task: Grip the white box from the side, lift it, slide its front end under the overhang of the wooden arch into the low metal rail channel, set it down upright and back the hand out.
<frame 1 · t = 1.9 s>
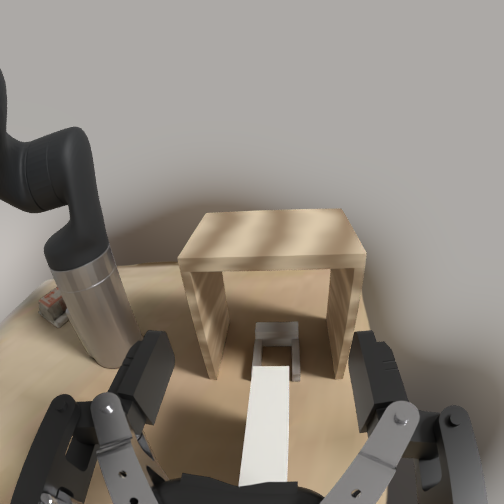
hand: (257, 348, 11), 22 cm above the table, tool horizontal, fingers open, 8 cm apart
wooden arch: (277, 348, 39), on the table
packaged product: (77, 301, 53), on the table
white box: (270, 472, 23), on the table
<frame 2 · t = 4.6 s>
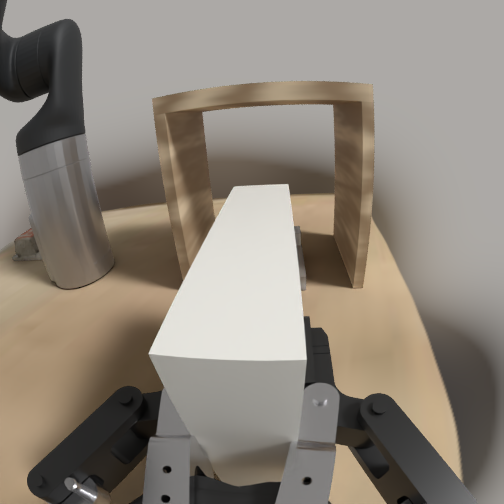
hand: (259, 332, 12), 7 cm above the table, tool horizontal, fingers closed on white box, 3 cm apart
wooden arch: (274, 260, 32), on the table
packaged product: (54, 241, 47), on the table
white box: (266, 409, 16), on the table, touching gripper
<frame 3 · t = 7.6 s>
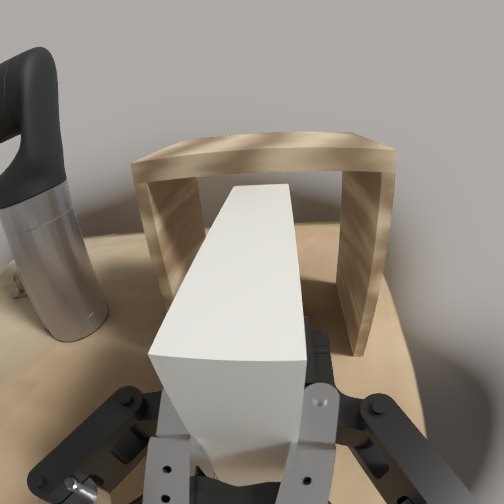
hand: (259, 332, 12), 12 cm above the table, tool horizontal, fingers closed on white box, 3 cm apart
wooden arch: (273, 317, 30), on the table
packaged product: (47, 272, 45), on the table
white box: (266, 409, 16), point 5 cm above the table, touching gripper
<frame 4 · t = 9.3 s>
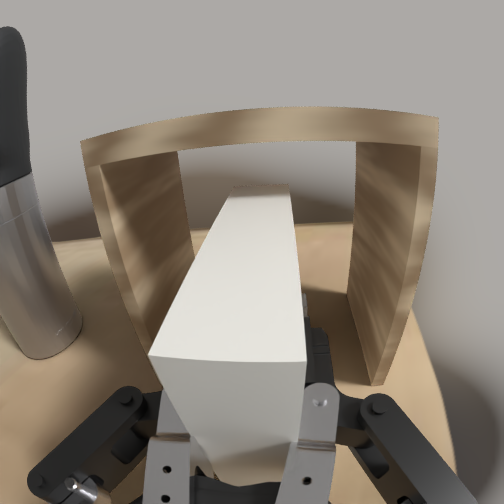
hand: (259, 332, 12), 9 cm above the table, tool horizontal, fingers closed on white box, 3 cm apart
wooden arch: (272, 337, 25), on the table
white box: (266, 409, 16), point 2 cm above the table, touching gripper
when the fingers open (7 cm above the table, at t = 10.8 s): white box stays where it is, on the table.
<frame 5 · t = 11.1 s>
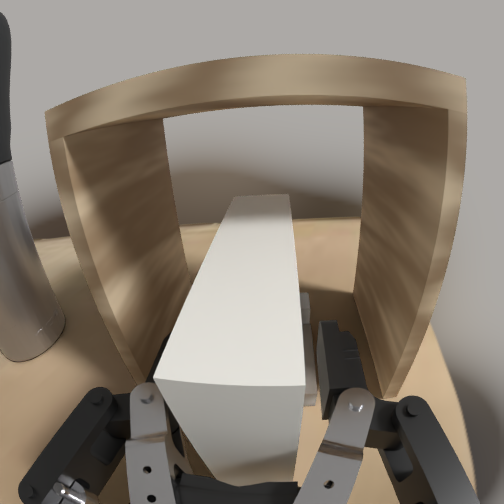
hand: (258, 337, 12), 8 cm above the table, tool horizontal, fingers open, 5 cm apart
wooden arch: (270, 342, 22), on the table
white box: (267, 415, 16), on the table
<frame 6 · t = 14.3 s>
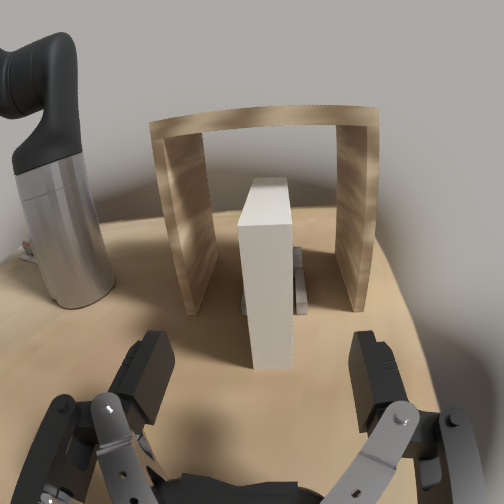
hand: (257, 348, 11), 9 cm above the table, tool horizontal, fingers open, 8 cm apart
wooden arch: (275, 281, 32), on the table
packaged product: (53, 254, 47), on the table
white box: (274, 320, 26), on the table
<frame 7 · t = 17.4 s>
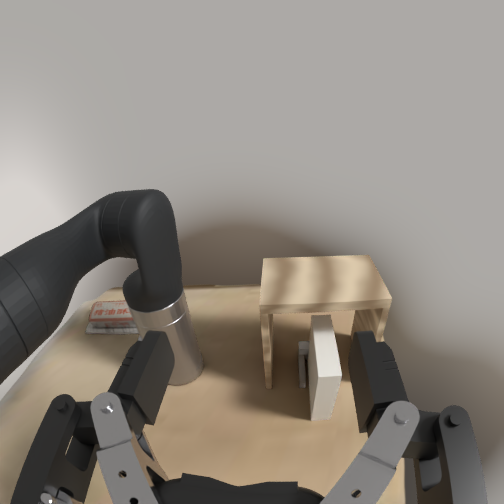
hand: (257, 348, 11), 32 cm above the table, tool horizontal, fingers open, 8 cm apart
wooden arch: (315, 361, 49), on the table
packaged product: (123, 322, 62), on the table
white box: (318, 390, 43), on the table
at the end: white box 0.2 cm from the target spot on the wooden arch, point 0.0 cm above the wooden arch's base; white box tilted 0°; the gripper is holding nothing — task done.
